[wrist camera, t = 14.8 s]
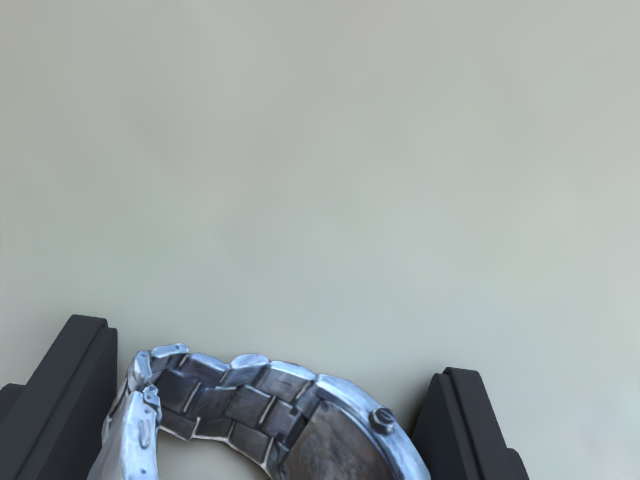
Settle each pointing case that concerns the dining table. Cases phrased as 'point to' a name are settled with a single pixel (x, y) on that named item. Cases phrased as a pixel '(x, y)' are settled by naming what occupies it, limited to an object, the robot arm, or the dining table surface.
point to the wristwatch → (252, 419)
